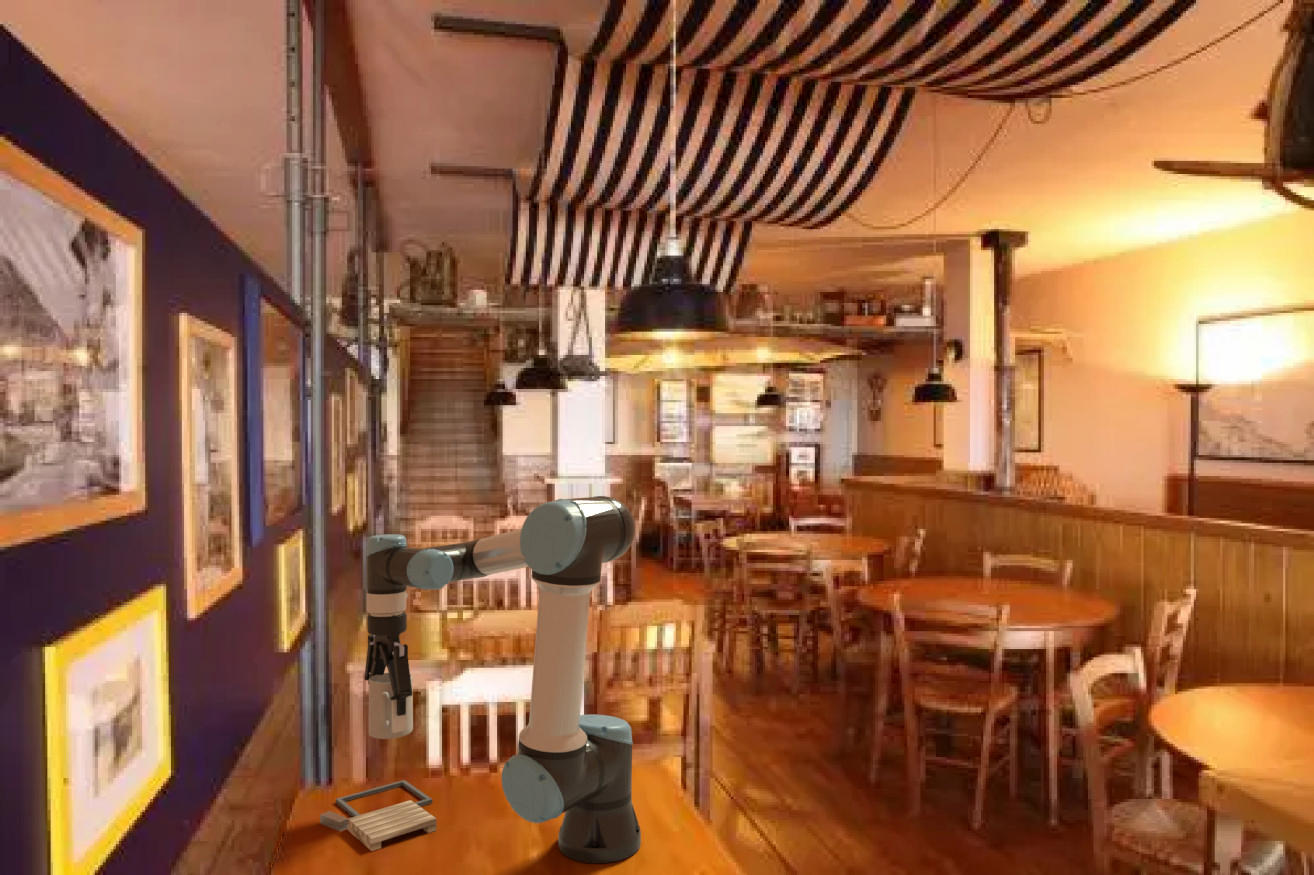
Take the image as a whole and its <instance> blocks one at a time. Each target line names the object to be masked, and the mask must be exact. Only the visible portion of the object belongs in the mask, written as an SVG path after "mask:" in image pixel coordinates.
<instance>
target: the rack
mask: <svg viewBox="0 0 1314 875" xmlns="http://www.w3.org/2000/svg"><path fill="white" fill-rule="evenodd" d="M347 818H348V817H347ZM437 826H438V824H437V817H435V816H433V814H431V813H429V812H428V811H426V810H425V809H424V808H422V806H421V807H420V806H418V805H417V804H415V802H414V801H413V800H412V799H409V800H406V801H403V802H400V803H397V804H392V805H390V806H387V807H383V808H380V809H379V808H378V809H376V810H372V811H369V812H366V813H361V814H360V815H358V816H355V817H352V816H351V817H349V818H348V824H347V829H346V830H347V831H348V832H349V833H350V834H351V835H353V837H355V838H356V839H357V840H358V841H360V843H362V844H363V846H365V847H366V848H368V850H369V851H371V852H373V851H376V850H379V849H382V842H383V841H387V840H390V839H392V838H395V837H399V836H401V835H406V834H407V833H411V832H414V831H418V830H420V829H422V830H423V831H425V832H426V833H427V834H428V833H429V834H430V833H432V832H435V831H438V830H437Z"/></svg>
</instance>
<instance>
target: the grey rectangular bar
mask: <svg viewBox="0 0 1314 875" xmlns="http://www.w3.org/2000/svg"><path fill="white" fill-rule="evenodd" d="M319 817H320V818H319V820H320V822H319V824H320V825H323V826H326V827H328V828H330V829H333V830H335V831H338V832H342V831H345V830H347V824H348V817H346V816H343V815H341V814H338V813H336V812H333V811H331V810H328V811H325V812H324V813H323V812H322V813H321V814H319Z"/></svg>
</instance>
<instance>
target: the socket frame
mask: <svg viewBox="0 0 1314 875" xmlns="http://www.w3.org/2000/svg"><path fill="white" fill-rule="evenodd" d="M400 787H404V788H405V789H406V790H408V791H409V792H411V793H412V794H414V796H416V797H418V798H419V799H421V800H419V801H416V802H414V803H415V804H417V805H418V806H420V807H421V808H422V807H424V806H428V805H431V804H433V798H431V797H430V796H428V795H427V794H425V793H424V792H423V791H421V790H420V789H418V788H416V787H415V786H414V785H413V784H411V783H409V782H408V781H406V780H405V779H402V780H399V781H396V782H392V783H389V784H385V785H382V786H377V787H374V788H371V789H367V790H363V791H360V792H357V793H356V792H355V793H352V794H348V795H345V796H341V797H338V798H335V803H336V805H338V806H339V807H340V808H342V809H343V810H344V811H345V812H346V811H347V812H348V813H347V812H346V813H347V814H349V816H351V817H352V816H353V817H355V816H358V815H361V814H360V813H359V812H358V811H357V810H355V809H354V808H353V807H352V806H351V805H349V804H348V803H347V802H350V801H353V799H354V800H356V799H355V798H357V799H360V797H361V798H364V797H366V796H370V795H375V794H378V793H382V792H385V791H388V790H389V791H390V790H392V789H396V788H400ZM349 800H350V801H349Z"/></svg>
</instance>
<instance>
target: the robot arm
mask: <svg viewBox="0 0 1314 875" xmlns="http://www.w3.org/2000/svg"><path fill="white" fill-rule="evenodd" d="M635 536H636V522H635V518H634V516H633V514H632V512H631V510H630V509H629V508H628V507H627V505H625V503H623V502H622V501H621V500H619V499H617V498H614V497H611V496H605V495H598V496H597V495H595V496H587V497H575V498H559V499H555V500H553V501H546V502H544V503H541V504H539V505H538V506H536V507H535V508H534V509H533V510H532V511H530V513H528V515H527V516H526V518H525V520H524V521H523V524H522V527H521V528H519V529H515V530H511V531H506V532H504V533H498V534H495V535H492V536H491V535H490V536H487V537H483V538H482V537H481V538H479V539H478V538H477V539H473V540H470V541H465V542H459V543H458V542H457V543H453V544H452V543H451V544H445V545H437V546H428V547H420V548H419V547H408V544H407V537H406V536H404V535H403V534H397V533H393V534H391V533H387V534H377V535H372V536H371V537H369V538H368V540H367V547H366V549H367V550H366V556H365V558H366V585H367V586H366V589H367V592H366V612H367V613H368V616H367V619H366V620H367V621H366V622H367V624H366V626H367V628H366V629H367V634H368V636H367V651H366V660H365V670H364V680H365V682H367V684H368V686H369V679H370V678H371V677H372V676H374V675H384V673H385V671H386V669H387V673H389V677H390V681H391V686H392V690H393V695H394V696H392V697H391V698H390V699H391V700H392V733H396V732H400V731H404V730H407V710H406V698H407V697H409V696H412V697H413V686H412V687H411V679H410V674H411V673H410V672H411V670H410V664H409V657H408V656H409V647H408V644H407V643H405V644H401V639H400V635H401V634H402V633H405V632H406V631H407V630H408V628H407V627H408V626H407V625H408V623H407V622H408V620H407V618H408V615H407V613H406V612H405V611H406V610H407V598H408V597H409V594H408V593H407V589H408V588H407V587H409V588H414V589H415V588H416V589H421V590H425V591H428V590H436V591H437V590H440V589H443V588H444V587H445V586H446V585H447V584H451V583H456V582H461V581H466V580H472V579H480V578H485V577H487V576H491V575H495V574H499V573H503V572H504V573H505V572H509V571H514V570H519V569H524V568H529V569H530V570H531V579H532V580H533V582H534V583H535V584H536V585H537V586H538V588H539V589H538V590H539V592H538V604H537V617H536V627H535V628H536V631H535V643H534V655H533V669H532V682H531V692H530V693H531V694H530V704H529V705H530V707H529V719H528V720H529V721H528V724H527V725H526V726H524V727H523V728H522V729H521V730H520V732H519V734H518V742H517V743H518V744H517V754H515V755H514V754H513V755H512V756H511V757H510V758H509V759H508V760H507V761H506V762H505V763H504V764H503V767H502V770H501V785H502V786H501V787H502V790H503V793H504V794H503V795H504V796H505V799H506V801H507V802H508V803H509V805H510V807H511V809H512V810H513V811H514V812H515V813H516V814H517V815H518V816H519V817H520V818H522V819H523V820H525V821H527V822H529V823H534V824H541V823H546V822H547V821H549V820H552V819H553V820H554V819H557V818H559V817H560V816H561V815H562V814H564V815H563V818H562V822H561V826H560V827H559V830H558V836H557V837H558V841H557V843H558V846H557V847H558V849H559V851H560V853H562V854H563V855H564V856H565V857H567V858H569V859H571V860H573V861H577V862H581V863H587V864H609V863H615V862H618V861H622V860H624V859H627V858H630V857H631V856H633V855H634V854H636V853H637V852H638V851H639V849H640V848H641V844H642V840H641V839H642V838H641V836H642V835H641V833H642V832H641V827H640V825H639V820H638V817H637V815H636V810H635V808H634V806H633V805H634V804H633V801H632V798H633V797H632V793H633V792H632V787H633V786H632V785H633V783H632V781H633V776H632V775H633V772H632V771H633V745H634V742H633V736H632V735H633V734H632V727H631V725H630V724H629V722H627V721H626V720H624V719H622V718H619V717H616V716H612V715H605V714H594V713H593V714H581V712H582V698H583V697H582V696H583V685H584V674H585V673H584V672H585V664H586V662H585V661H586V651H587V639H588V638H587V637H588V625H589V616H590V615H589V613H590V605H591V604H590V603H591V593H592V590H593V589H595V588H596V587H597V586H598V585H600V583H601V577H602V566H603V564H604V563H605V564H606V563H609V562H612V561H615V560H618V559H619V558H620V557H622V556H623V555H625V554H626V552H628V551H629V549H630V547H631V546H632V545H633V543H634V541H635ZM386 667H387V668H386Z"/></svg>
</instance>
